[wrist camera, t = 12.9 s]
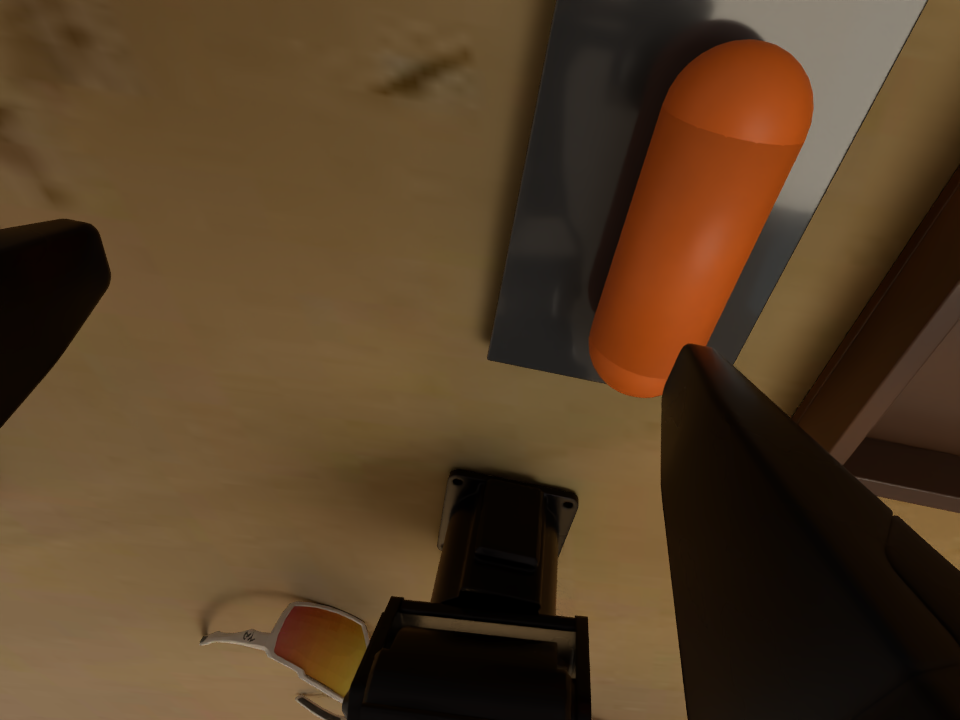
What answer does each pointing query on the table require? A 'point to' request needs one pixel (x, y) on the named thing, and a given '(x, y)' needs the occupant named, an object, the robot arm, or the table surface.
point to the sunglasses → (311, 648)
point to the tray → (901, 374)
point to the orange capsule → (698, 208)
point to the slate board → (627, 135)
